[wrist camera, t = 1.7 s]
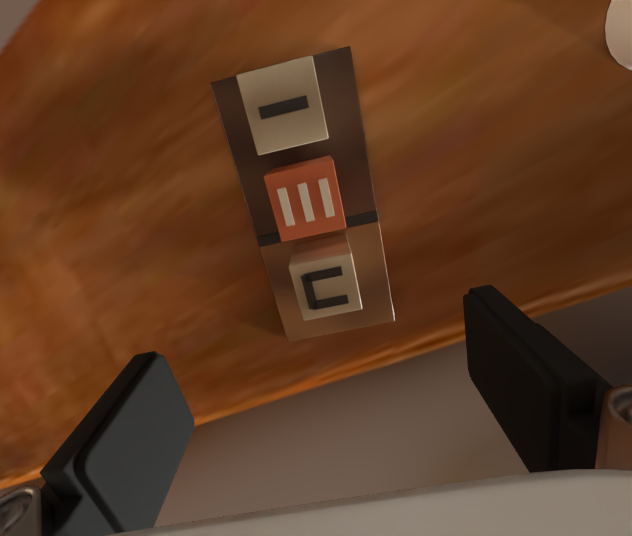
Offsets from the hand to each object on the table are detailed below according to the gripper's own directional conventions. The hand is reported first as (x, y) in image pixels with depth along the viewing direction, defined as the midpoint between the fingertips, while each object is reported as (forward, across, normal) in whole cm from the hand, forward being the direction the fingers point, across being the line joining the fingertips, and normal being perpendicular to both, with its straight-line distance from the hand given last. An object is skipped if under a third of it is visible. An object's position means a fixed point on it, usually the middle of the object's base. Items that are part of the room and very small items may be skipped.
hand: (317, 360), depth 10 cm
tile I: (+15, 0, -8) cm, 17 cm away
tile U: (+15, 0, +3) cm, 16 cm away
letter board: (+16, 0, -1) cm, 16 cm away
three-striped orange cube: (+15, 0, -3) cm, 16 cm away
